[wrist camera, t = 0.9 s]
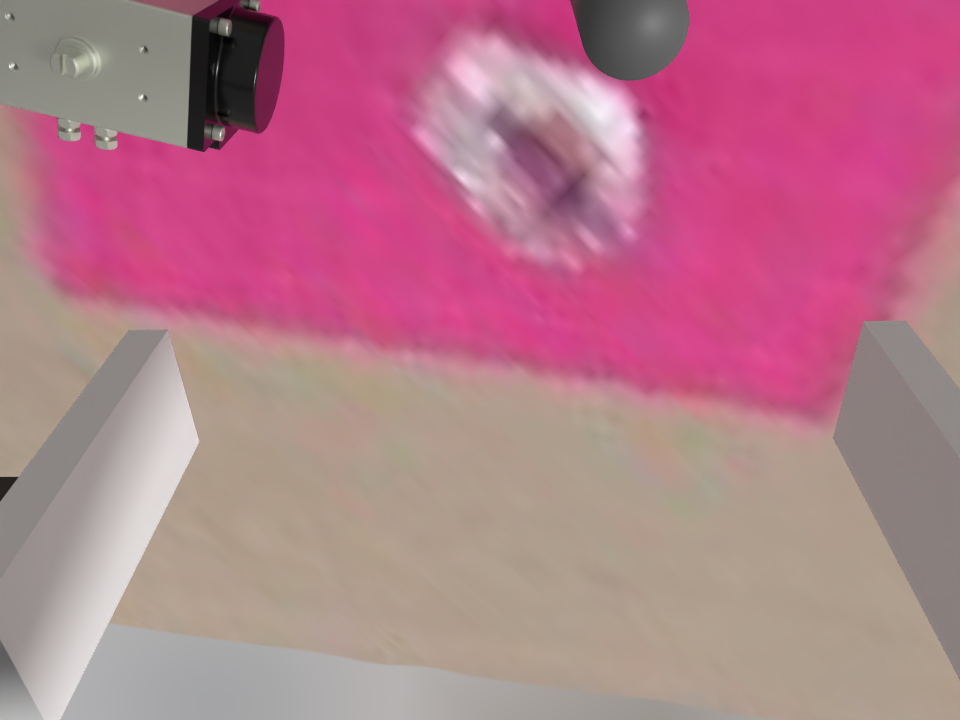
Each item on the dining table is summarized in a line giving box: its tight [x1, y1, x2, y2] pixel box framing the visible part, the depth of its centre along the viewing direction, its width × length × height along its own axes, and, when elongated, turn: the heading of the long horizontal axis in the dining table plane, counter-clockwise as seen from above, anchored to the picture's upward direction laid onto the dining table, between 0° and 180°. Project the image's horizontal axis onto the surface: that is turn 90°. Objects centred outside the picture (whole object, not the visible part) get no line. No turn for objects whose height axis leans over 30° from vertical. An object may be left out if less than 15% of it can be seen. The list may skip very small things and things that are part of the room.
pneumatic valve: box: [0, 0, 284, 152], centre depth 33 cm, size 6×12×12 cm, turn 77°
